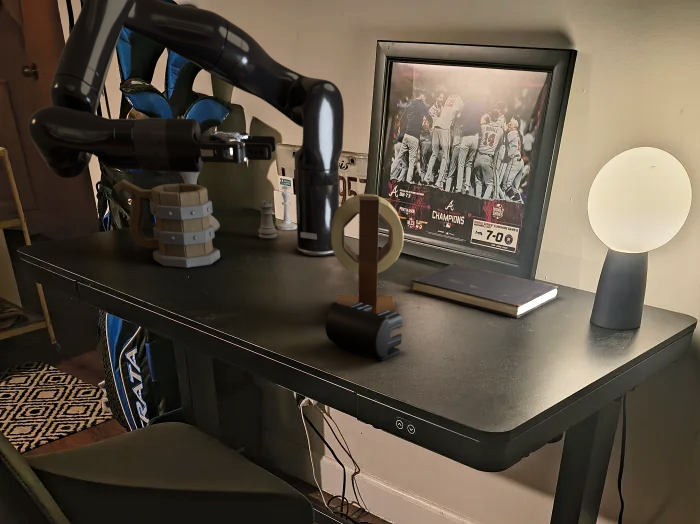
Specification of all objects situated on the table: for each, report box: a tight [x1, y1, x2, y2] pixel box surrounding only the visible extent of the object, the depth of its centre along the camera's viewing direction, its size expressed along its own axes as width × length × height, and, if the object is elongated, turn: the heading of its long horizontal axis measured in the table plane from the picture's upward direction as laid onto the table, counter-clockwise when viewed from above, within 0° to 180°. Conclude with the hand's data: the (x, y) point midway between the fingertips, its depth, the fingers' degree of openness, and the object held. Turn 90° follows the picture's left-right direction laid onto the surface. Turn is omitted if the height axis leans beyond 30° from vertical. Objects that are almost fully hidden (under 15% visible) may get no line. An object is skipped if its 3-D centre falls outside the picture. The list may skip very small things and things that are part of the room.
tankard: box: [112, 178, 221, 269], centre depth 153 cm, size 20×13×15 cm, turn 80°
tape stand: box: [336, 195, 397, 314], centre depth 126 cm, size 14×10×20 cm
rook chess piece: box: [257, 199, 278, 241], centre depth 172 cm, size 4×4×8 cm
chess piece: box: [276, 183, 297, 231], centre depth 180 cm, size 5×5×10 cm
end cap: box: [324, 303, 403, 361], centre depth 114 cm, size 10×7×7 cm
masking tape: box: [331, 193, 405, 275], centre depth 125 cm, size 5×12×12 cm, turn 93°
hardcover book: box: [410, 263, 559, 319], centre depth 142 cm, size 16×23×2 cm
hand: (273, 147), depth 117 cm, fingers open, 8 cm apart
